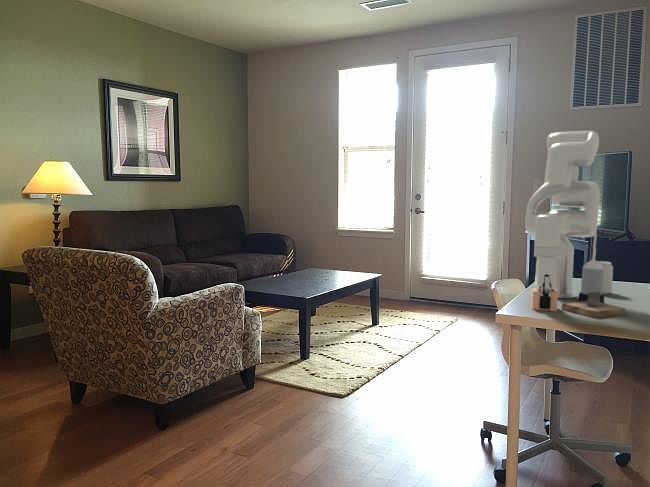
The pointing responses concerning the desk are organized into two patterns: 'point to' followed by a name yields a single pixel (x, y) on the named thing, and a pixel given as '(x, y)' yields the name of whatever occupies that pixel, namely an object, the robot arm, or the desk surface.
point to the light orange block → (536, 299)
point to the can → (607, 277)
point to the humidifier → (592, 276)
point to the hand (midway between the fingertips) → (543, 305)
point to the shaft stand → (593, 307)
